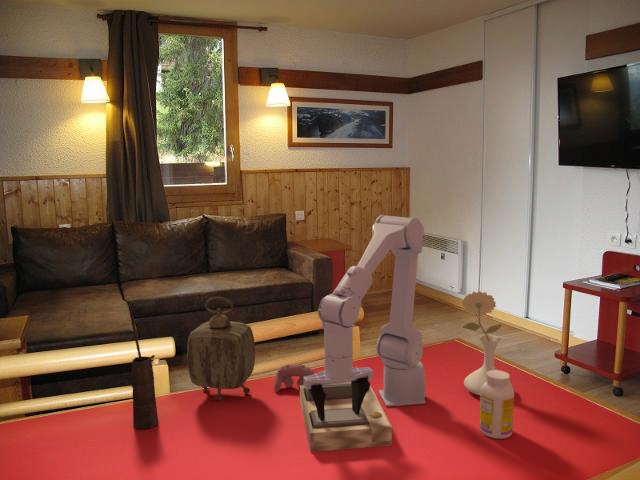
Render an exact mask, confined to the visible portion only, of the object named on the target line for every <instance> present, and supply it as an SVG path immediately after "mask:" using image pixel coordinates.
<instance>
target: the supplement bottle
mask: <svg viewBox="0 0 640 480" xmlns="http://www.w3.org/2000/svg"><path fill="white" fill-rule="evenodd" d="M486 380H487V382H486V383H484V384H483V385H482V387H481V396H480V399H479V400H480V402H479V403H480V407H479V430H480V432H481V433H482V434H483V435H484V436H486V437H489V438H492V439H497V440H498V439H501V440H502V439H503V440H504V439H507V438H509V437H511V436H512V434H513V431H514V430H513V428H514V427H513V426H514V402H515V390H514V388H513V386H512V387H511V386H510V385H508V384H509V382H511V376H510V373H508V372H506V371H504V370H500V369H497V370H491V371H488V372H487V373H486Z"/></svg>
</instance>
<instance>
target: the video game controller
mask: <svg viewBox="0 0 640 480" xmlns="http://www.w3.org/2000/svg"><path fill="white" fill-rule="evenodd" d="M313 374H315V371H314V370H313V369H312V368H311V367H310V366H307V365H303V364H296V363H292V364H290V363H289V364H286V365H282V366H281V367H279V368H278V370H277V371H276V375H275V378H274V391H275V393H278V392H279V391H280V390H281V387H282V385H283V384H284V386H285V387H286V388H292V387H293V386H294V383H295V381H294V379H293V378H292V377H299V378H298V379H297V380H296V385H297V387H299V388H300V385H303V377H305V376H310V375H313Z"/></svg>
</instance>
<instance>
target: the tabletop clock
mask: <svg viewBox="0 0 640 480" xmlns="http://www.w3.org/2000/svg"><path fill="white" fill-rule="evenodd" d="M215 300H219V301H224V302H226V303H228V304H229V305H230V309H228V310H225V311H222V308H221V307H218V308H216V310H213V309H210V308H209V307H208V303H209V302H210V301H215ZM204 307H205V310H206V311H208V312H209V313H211V314H214V315H213V316H212V317H211V318H210V319H209V321H206V322H202V323H201V324H200V325H199V326H198V327H196V328H195V329H194V330H192V331H191V332H190V333H189V336H188V338H187V345H186V351H187V352H186V354H187V355H186V359H187V367H188V368H187V369H188V374H189V378H190V381H191V384H192V385H196V386H199V387H201V388H202V390H203V391H208V390H209V388H211V389H217V394H216V396H214V397H215V401H216V402H221V401H222V400H223V395H222V394H221V391H222V389H223V390H234V389H238V388H242V389H243V393H244V394H245V395H248V394H250V392H251V390H250V388H249V387H248V386H245V385H244V384H245V383H246V381H247V380H248V379H249V378H250V376H251V375H252V374H253V371H254V369H255V364H256V363H255V362H256V361H255V360H256V345H255V337H254V333H253V330H252V327H251V325H248V324H246V323H243V322H241V321H233V320H232V321H231V320H230V319H229V317H228V316H226V314H229V313H231V311H232V310H233V308H234V305H233V303H232V301H231V300H230V299H228V298H226V297H223V296H212V297H209V298H207V300H205V303H204ZM207 387H209V388H207ZM203 388H204V389H203Z"/></svg>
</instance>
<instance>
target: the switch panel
mask: <svg viewBox="0 0 640 480" xmlns="http://www.w3.org/2000/svg"><path fill="white" fill-rule="evenodd" d="M299 402H300V408H301V409H300V410H301V412H302V417H303V418H302V419H303V422H304V426H305V427H304V428H305V430H306V436H307V441H308V447H309V451H310V453H314V452H325V451H327V452H328V451H339V450H350V449H352V450H353V449H362V448H363V449H364V448H374V447H375V448H376V447H386V446H387V447H388V446H393V425H392V424H391V422H390V421H389V419H388V417H387V415H386V412H385V411H384V409H383V407H382V405H381V403H380V401H379V399H378V398H377V395H376V393H375V391H374V389H373V387H372V386H371V385H370V389H369V390H368V391H367V393H366V395H365V397H364V399H363V402H362V405H361V407H362V409H363V411H364V413H365V415H366V418H367V420H368V425H356V426H342V427H329V428H315V429H313V428H312V424H311V411H313V410H317V409H316V405H315V402H314V401H307V398H306V394H305V387H304V385H300V387H299ZM341 408H352V398H349V399H334V400H325V404H324V410H327V409H341Z"/></svg>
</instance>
